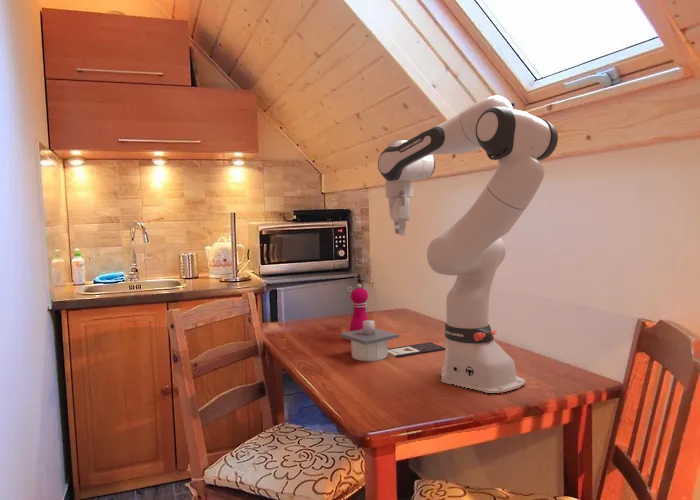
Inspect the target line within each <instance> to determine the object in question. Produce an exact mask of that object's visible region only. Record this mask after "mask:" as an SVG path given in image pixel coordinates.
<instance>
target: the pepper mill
mask: <svg viewBox="0 0 700 500" xmlns="http://www.w3.org/2000/svg"><path fill="white" fill-rule="evenodd" d="M362 287H363V286H362V284H361V283H358V284H357V285H356V288H355V289H353V290H351V292H350V299H351V300H352V307H353V313H352V314H353V315H352V319H351V320H350V324H349V332H351V331H356V330H361V329H363V321H365V320H369V319H368V317H367V312H366V308H367V306H368V305H367V300H368V299H369V292H368V291H367V290H366V289H365V288H362Z"/></svg>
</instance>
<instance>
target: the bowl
mask: <svg viewBox="0 0 700 500" xmlns="http://www.w3.org/2000/svg"><path fill="white" fill-rule="evenodd" d="M350 342H351V343H350V345H351V349H350V350H351V358H352V359H354V360H357V361H361V362H376V361H377V362H378V361H382V360H385V359H386V358H388V354H389V353H388V349H389V346H388V342H389V341H388V340H386V341H381V342H377V343H372V344H367V345H364V344H361V343H358V342H355V341H352V340H350Z"/></svg>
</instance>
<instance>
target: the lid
mask: <svg viewBox="0 0 700 500" xmlns="http://www.w3.org/2000/svg"><path fill="white" fill-rule="evenodd" d="M375 322H376V321H375V320H373V319H368V320H365V321H363V329H361V330H356V331H351V332H350V331H346V332H341V333H339V336H340V338H343V339H346V340H349V341H351V340H352V341H355V342H358V343H361V344H364V345H367V344H372V343H377V342H381V341H386V340H387V341H389V340H394V339H398V338H400V335H399V333H398V334H397V333H395V332H391V331H388V330H385V329H381V328H376V325H375V324H376V323H375Z"/></svg>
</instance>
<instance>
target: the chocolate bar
mask: <svg viewBox="0 0 700 500" xmlns="http://www.w3.org/2000/svg"><path fill="white" fill-rule="evenodd" d="M445 348H446V347H444V346H442V345H439V344H436V343H434V342H431V341H430V342H424V343H416V344H411V345H410V344H409V345H403V346H396V347H390V348H389V347H388V354H389V355H391V356H393V357H396V358H397V359H400V358H406V357H410V356H418V355H422V354H423V355H424V354H429V353H430V354H431V353H436V352H442V351H445Z"/></svg>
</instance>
